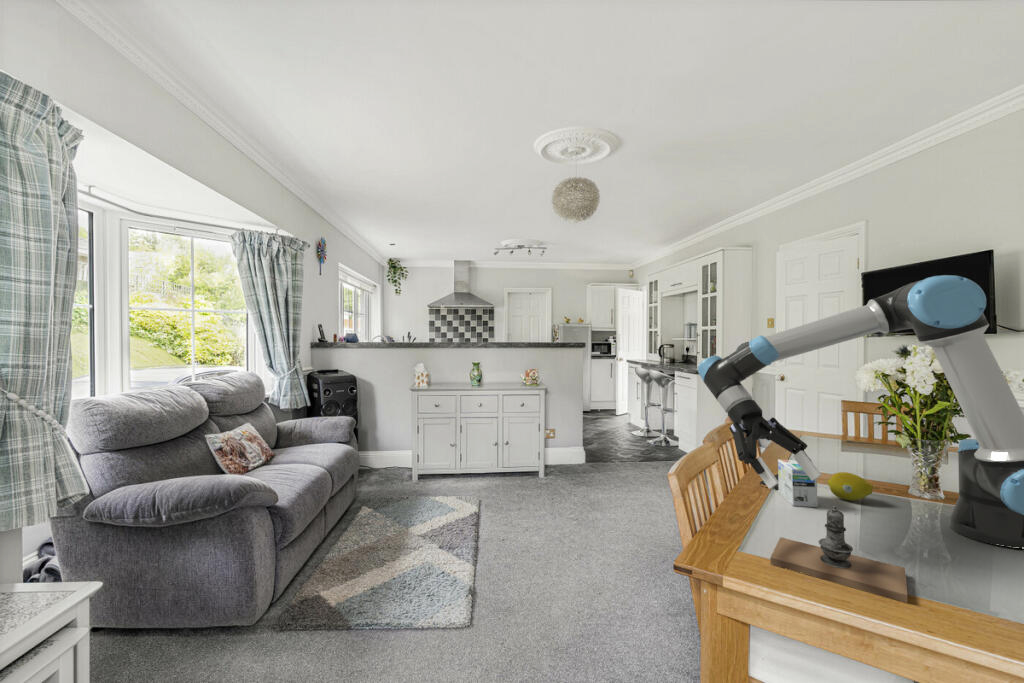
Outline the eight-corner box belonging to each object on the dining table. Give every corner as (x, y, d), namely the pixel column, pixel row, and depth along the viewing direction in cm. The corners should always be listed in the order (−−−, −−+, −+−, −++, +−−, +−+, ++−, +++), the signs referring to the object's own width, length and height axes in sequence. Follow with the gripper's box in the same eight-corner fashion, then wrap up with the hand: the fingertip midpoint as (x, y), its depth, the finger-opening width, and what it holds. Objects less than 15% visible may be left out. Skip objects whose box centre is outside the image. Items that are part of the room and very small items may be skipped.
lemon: (822, 497, 131) (822, 471, 131) (833, 492, 135) (833, 466, 135) (866, 509, 122) (866, 480, 122) (877, 502, 126) (876, 475, 126)
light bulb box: (818, 507, 123) (818, 470, 123) (792, 506, 125) (791, 469, 125) (801, 494, 134) (800, 459, 134) (777, 493, 135) (776, 458, 135)
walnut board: (905, 575, 89) (904, 567, 89) (907, 603, 80) (907, 595, 80) (780, 543, 103) (780, 537, 103) (770, 564, 94) (770, 557, 94)
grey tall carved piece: (819, 551, 96) (819, 498, 95) (853, 560, 92) (853, 504, 92) (817, 563, 91) (816, 506, 91) (852, 572, 87) (852, 513, 87)
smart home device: (758, 481, 142) (785, 469, 154) (758, 487, 142) (785, 474, 154) (786, 488, 135) (812, 475, 147) (786, 494, 135) (812, 480, 147)
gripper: (766, 411, 120) (822, 482, 106) (694, 419, 111) (745, 497, 97) (784, 394, 115) (845, 466, 101) (710, 401, 106) (765, 481, 92)
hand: (796, 482), depth 99 cm, fingers open, 13 cm apart
